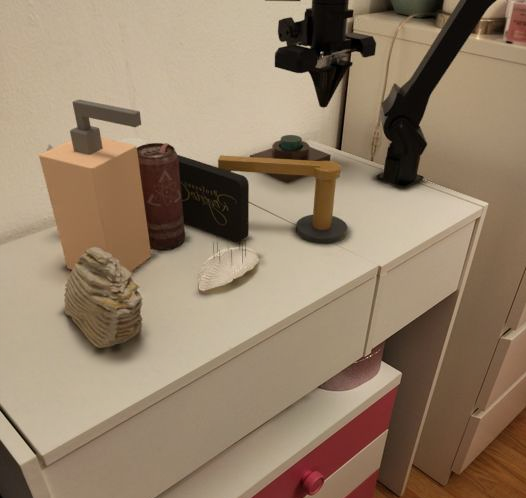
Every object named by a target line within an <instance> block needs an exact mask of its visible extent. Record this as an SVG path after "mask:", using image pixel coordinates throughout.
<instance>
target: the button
mask: <svg viewBox="0 0 526 498" xmlns="http://www.w3.org/2000/svg"><path fill="white" fill-rule="evenodd" d="M280 140H281V145H280V147H281V148H282V149H285V150H298V149H301V146H302V141H303V138H302V137H301V136H300V135H296V134H286V135H281V137H280Z"/></svg>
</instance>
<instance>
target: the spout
mask: <svg viewBox="0 0 526 498" xmlns="http://www.w3.org/2000/svg"><path fill="white" fill-rule="evenodd" d="M217 167H218V168H221V169H224V170H227V171H230V172H243V173H256V174H257V173H258V174H259V173H260V174H266V173H274V174H290V175H304V176H305V177H306V176H307V177H314V178H315V179H316V178H317V179H320V180H335V179H336V180H338V179H339V178H340V177H341V169H342V166H341V164H340V163H338V162H336V161H333V160H330V161H307V160H291V159H274V158H257V157H250V156H241V155H240V156H238V155H224V154H223V155H222V154H220V155H219V157H218V160H217Z"/></svg>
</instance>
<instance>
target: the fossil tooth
mask: <svg viewBox="0 0 526 498" xmlns="http://www.w3.org/2000/svg"><path fill="white" fill-rule="evenodd" d="M120 263H121V262H120V260H117V259H115V258H113V255H112V254H110V253H109V252H105V251H103V250H102V249H101V248H96V247H91V248H89V249H87V250H86V251H85V254H83V255H81V257H80V258H79V260H78V261H77V264H75V267H73V270H71V271H70V274H69V276H68V278H67V281H66V284H65V288H64V291H65V292H64V295H63V296H64V308H65V312H64V313H65V314H66V315H67V316H69V317H70V318H71V320H72V321H73V322H74V323H75V325H76V326H77V327H78V328H79V330H81V331H82V333H83V334H84V336H85V337H86V338H87V340H88V341H89V342H90V343H91V344H92V345H93V346H94V347H95V348H98V349H104V348H110V347H113V346H116V345H119V344H123V343H125V342H127V341H128V340H130V339H132V338H133V337H134V336H136V335H137V334H139V333H141V332H142V328H143V323H142V322H143V317H142V314H141V312H142V311H141V309H142V306H143V296H142V295H141V292H140V291H138V289H139V288H140V286H139V285H138V284H137V283H136V282H135V281H134V279H133V278H132V275H133V272H132V271H131V272H130V271H128V270H127V269H126V268H125V267H123V266H121V265H120Z"/></svg>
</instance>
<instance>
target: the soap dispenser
mask: <svg viewBox="0 0 526 498" xmlns="http://www.w3.org/2000/svg"><path fill="white" fill-rule="evenodd" d="M72 108H73V112H74V117H75V122H76V127H74V128H72V129H70V130H69V134H70V139H71V140H69V141H67V142H65V143H62V144H60V145H57V146H55V147H53V149H50V150H48V151H47V150H46V151H44V152H42V153H39V154H38V158H39V161H40V165H41V169H42V173H43V177H44V181H45V185H46V189H47V192H48V197H49V201H50V205H51V208H52V213H53V217H54V220H55V224H56V230H57V232H58V237H59V240H60V244H61V248H62V252H63V257H64V260H65V261H64V262H65V263H66V267H67V269H68V270H71V271H72V270H73V267H75V264H77V261H78V260H79V258H80V257H81V255H83V254H85V251H86V250H87V249H89V248H91V247H96V248H101V249H102V250H103V251H105V252H109V253H110V254H112V255H113V258H115V259H117V260H120V262H121V263H120V265H121V266H123V267H125V268H126V269H127V270H128V271H130V272H131V273H132V271H134V270H135V269H137V268H138V267H139V266H141V265H142V264H143V263H145V262H146V261H148V259H150V258H151V257H152V250H151V247H150V242H149V235H148V228H147V220H146V213H145V205H144V198H143V191H142V183H141V176H140V169H139V161H138V154H137V147H136V145H132V144H127V143H123V142H119V141H118V140H115V139H110V138H104V137H102V136H101V131H100V128H99V127H97V126H93V125H91V121H90V119H93V120H99V121H103V122H107V123H111V124H117V125H121V126H127V127H132V128H137V127H139V126H141V125H142V117H141V112H140V111H139V110H135V109H129V108H125V107H120V106H114V105H109V104H105V103H99V102H94V101H90V100H84V99H76V100H73V101H72Z"/></svg>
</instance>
